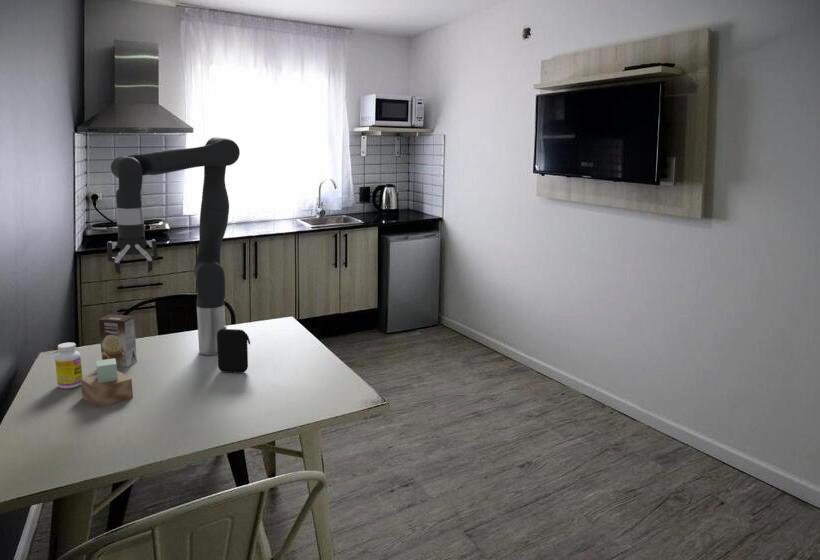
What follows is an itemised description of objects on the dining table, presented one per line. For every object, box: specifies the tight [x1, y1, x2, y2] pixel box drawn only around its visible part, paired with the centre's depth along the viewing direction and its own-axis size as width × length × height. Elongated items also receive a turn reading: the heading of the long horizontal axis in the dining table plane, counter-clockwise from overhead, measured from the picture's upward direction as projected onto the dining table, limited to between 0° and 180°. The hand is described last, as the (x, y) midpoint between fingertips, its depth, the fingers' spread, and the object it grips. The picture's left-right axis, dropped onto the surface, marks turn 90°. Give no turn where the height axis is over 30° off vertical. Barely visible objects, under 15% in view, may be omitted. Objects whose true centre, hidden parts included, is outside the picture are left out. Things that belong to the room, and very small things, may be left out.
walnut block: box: [80, 369, 134, 409], centre depth 170 cm, size 10×10×6 cm
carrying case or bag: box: [217, 328, 251, 373], centre depth 190 cm, size 11×3×15 cm, turn 89°
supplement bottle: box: [54, 342, 83, 389], centre depth 176 cm, size 7×7×13 cm
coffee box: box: [98, 313, 138, 368], centre depth 195 cm, size 9×6×16 cm
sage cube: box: [95, 358, 118, 383], centre depth 169 cm, size 5×5×5 cm
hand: (134, 273), depth 185 cm, fingers open, 8 cm apart
